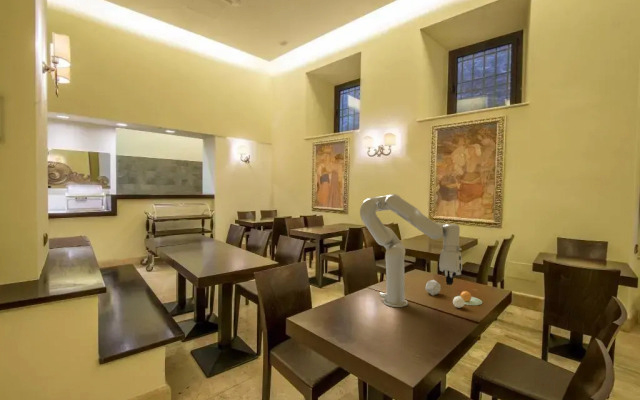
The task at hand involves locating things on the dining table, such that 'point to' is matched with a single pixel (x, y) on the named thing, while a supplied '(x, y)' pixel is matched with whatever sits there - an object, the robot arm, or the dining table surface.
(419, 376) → the dining table surface
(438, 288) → the die
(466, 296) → the object ball
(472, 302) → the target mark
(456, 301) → the cue ball
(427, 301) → the dining table surface
